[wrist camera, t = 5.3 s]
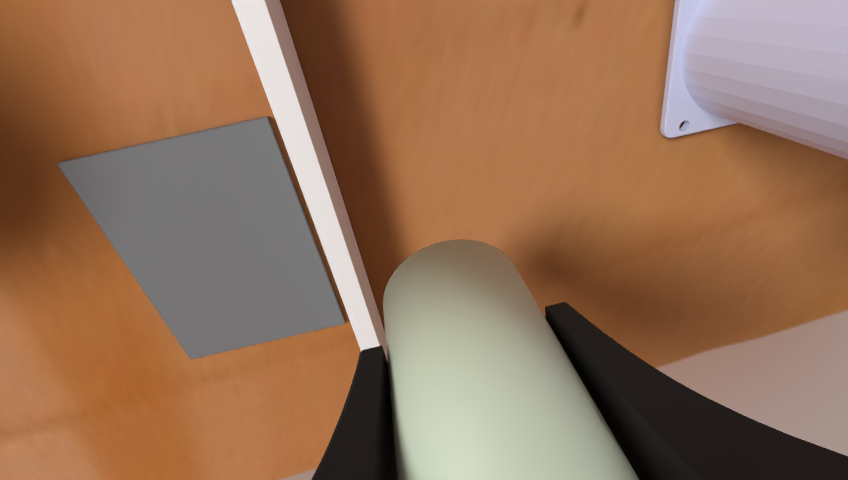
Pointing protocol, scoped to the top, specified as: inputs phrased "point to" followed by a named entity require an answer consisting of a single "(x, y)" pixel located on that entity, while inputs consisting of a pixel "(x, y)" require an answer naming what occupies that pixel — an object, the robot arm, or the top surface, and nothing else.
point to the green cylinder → (485, 377)
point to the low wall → (310, 160)
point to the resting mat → (212, 235)
